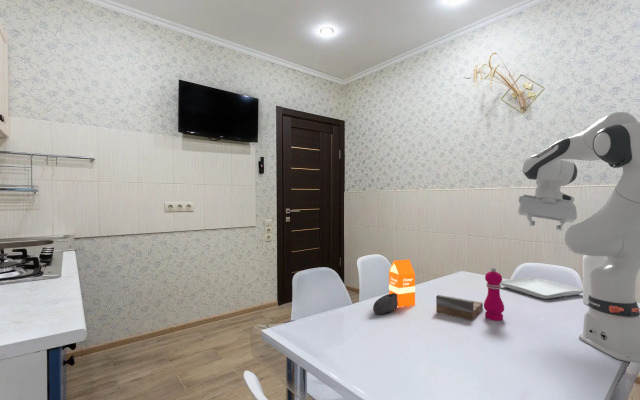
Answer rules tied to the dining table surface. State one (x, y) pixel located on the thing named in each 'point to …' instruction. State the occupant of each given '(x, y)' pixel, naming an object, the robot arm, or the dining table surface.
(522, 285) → the square plate
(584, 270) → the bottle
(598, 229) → the robot arm
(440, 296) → the walnut stand
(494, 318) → the pepper mill
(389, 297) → the perforated stone tool
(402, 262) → the orange juice
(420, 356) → the dining table surface
